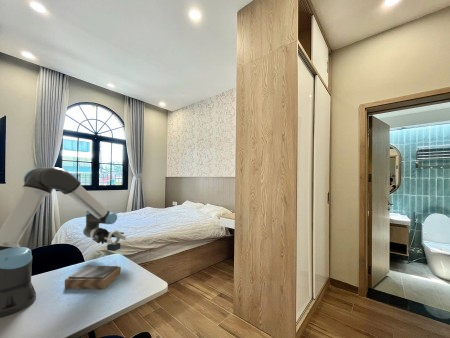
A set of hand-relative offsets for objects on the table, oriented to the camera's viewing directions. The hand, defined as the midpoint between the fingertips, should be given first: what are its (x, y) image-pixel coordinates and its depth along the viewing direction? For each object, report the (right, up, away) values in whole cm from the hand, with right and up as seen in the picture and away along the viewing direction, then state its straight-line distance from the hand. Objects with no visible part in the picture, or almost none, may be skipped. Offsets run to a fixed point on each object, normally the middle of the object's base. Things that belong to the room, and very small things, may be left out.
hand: (118, 239), depth 115 cm
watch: (-4, -7, +2) cm, 8 cm away
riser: (-5, -17, -13) cm, 22 cm away
